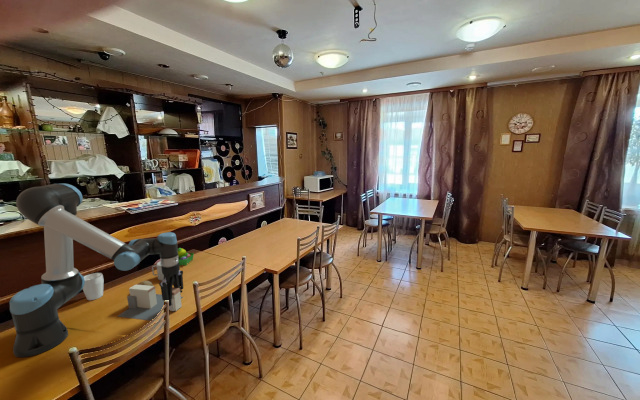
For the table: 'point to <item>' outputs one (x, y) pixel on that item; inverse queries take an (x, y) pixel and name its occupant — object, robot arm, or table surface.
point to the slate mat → (144, 311)
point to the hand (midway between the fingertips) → (174, 307)
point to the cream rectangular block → (142, 296)
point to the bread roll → (145, 283)
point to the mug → (158, 271)
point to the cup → (93, 286)
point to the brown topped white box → (176, 298)
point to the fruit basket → (184, 256)
